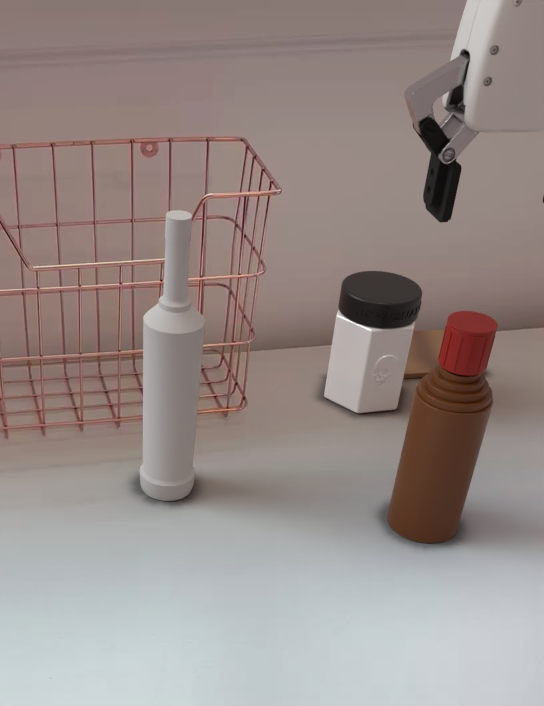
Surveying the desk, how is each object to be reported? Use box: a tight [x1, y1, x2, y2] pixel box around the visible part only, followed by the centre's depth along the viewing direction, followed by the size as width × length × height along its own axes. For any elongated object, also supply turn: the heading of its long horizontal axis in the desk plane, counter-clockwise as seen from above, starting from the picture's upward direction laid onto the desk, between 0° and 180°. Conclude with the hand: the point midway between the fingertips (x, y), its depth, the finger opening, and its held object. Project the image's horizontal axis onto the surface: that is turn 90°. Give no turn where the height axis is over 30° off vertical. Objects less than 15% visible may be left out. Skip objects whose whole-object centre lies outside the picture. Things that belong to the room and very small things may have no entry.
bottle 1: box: [139, 209, 206, 502], centre depth 88 cm, size 5×5×25 cm
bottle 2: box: [386, 365, 494, 544], centre depth 88 cm, size 6×6×19 cm
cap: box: [438, 310, 499, 376], centre depth 82 cm, size 4×4×4 cm
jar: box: [323, 270, 423, 414], centre depth 107 cm, size 9×8×12 cm
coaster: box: [403, 328, 445, 380], centre depth 118 cm, size 10×10×1 cm
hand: (496, 212), depth 75 cm, fingers open, 9 cm apart
